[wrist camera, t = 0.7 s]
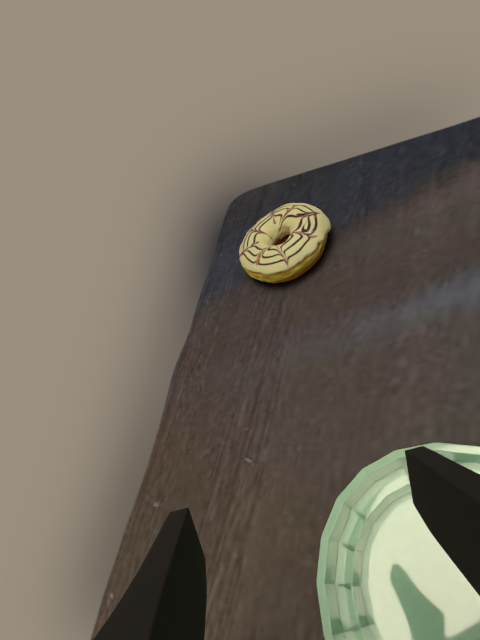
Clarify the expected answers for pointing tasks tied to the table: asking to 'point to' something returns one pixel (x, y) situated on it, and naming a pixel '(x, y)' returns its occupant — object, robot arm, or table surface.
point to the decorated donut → (285, 243)
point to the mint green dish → (392, 561)
